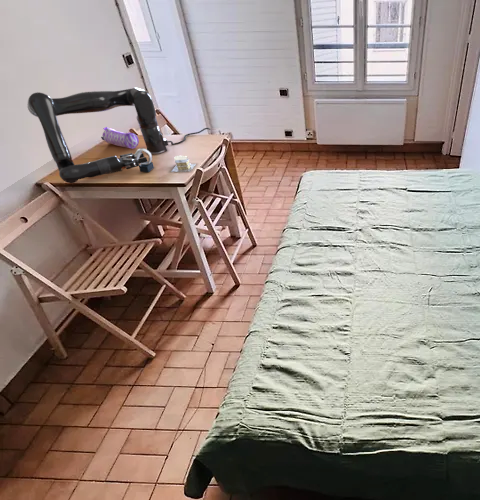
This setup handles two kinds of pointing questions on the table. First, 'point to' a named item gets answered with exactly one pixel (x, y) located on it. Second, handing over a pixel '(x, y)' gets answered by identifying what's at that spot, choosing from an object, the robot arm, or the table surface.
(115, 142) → the pencil case
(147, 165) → the watch
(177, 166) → the stacked layers on plate
